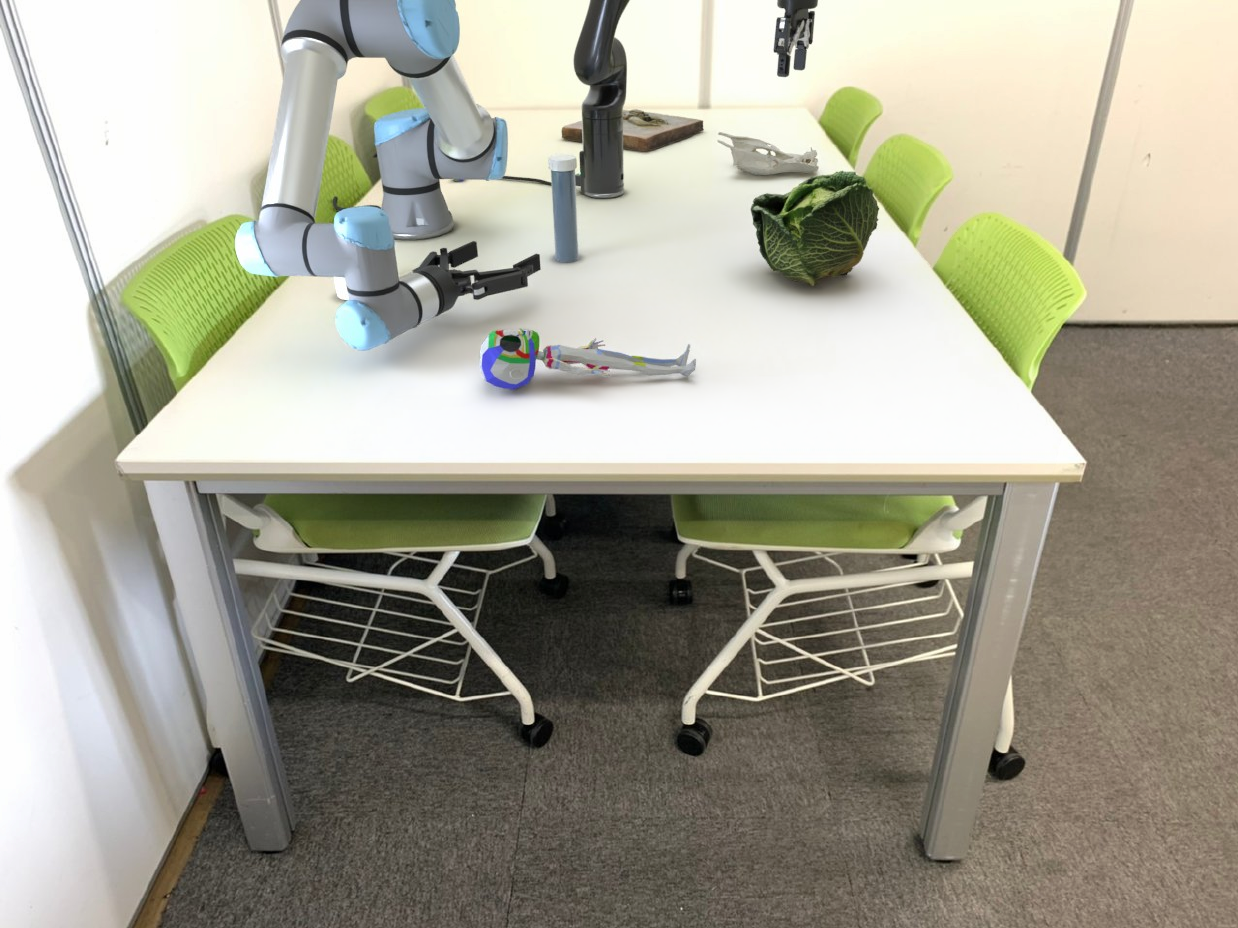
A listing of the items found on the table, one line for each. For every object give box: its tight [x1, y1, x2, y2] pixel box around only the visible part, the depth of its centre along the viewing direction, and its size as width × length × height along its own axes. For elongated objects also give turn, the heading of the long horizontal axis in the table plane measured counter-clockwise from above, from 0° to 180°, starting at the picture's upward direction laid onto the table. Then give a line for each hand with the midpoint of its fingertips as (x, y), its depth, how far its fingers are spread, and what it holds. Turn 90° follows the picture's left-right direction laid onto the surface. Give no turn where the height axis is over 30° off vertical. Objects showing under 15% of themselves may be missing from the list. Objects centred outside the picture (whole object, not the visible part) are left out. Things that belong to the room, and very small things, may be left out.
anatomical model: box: [716, 131, 820, 176], centre depth 220 cm, size 15×9×25 cm
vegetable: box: [749, 170, 880, 287], centre depth 157 cm, size 20×19×20 cm
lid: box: [547, 153, 578, 172], centre depth 162 cm, size 5×5×2 cm
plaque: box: [561, 108, 705, 152], centre depth 257 cm, size 30×7×30 cm
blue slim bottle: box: [550, 169, 579, 263], centre depth 167 cm, size 4×4×18 cm
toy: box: [478, 328, 697, 391], centre depth 127 cm, size 10×8×30 cm
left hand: (506, 255), depth 155 cm, fingers open, 13 cm apart
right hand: (791, 73), depth 175 cm, fingers open, 8 cm apart
